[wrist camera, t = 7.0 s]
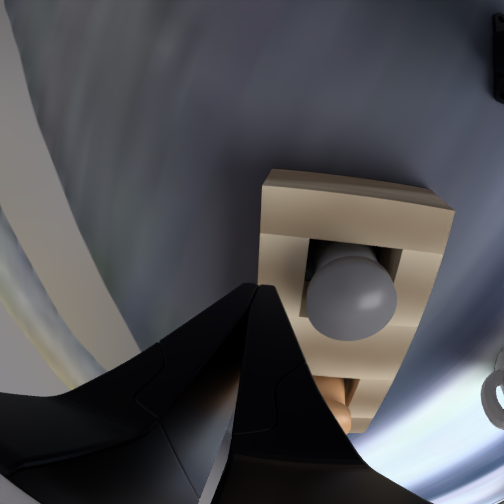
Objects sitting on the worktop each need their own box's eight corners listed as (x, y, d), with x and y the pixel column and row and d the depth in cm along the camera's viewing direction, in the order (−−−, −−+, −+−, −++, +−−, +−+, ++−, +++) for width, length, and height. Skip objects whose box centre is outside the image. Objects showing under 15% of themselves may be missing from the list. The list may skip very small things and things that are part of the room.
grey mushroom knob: (384, 224, 18) (407, 270, 13) (370, 286, 21) (383, 343, 16) (312, 215, 19) (312, 260, 14) (305, 279, 21) (300, 336, 16)
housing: (272, 168, 18) (262, 185, 15) (430, 189, 17) (455, 210, 13) (258, 388, 28) (250, 423, 24) (362, 398, 26) (364, 432, 23)
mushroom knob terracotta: (354, 351, 22) (359, 412, 17) (341, 388, 24) (341, 444, 19) (295, 346, 23) (288, 407, 18) (288, 383, 25) (280, 440, 20)
